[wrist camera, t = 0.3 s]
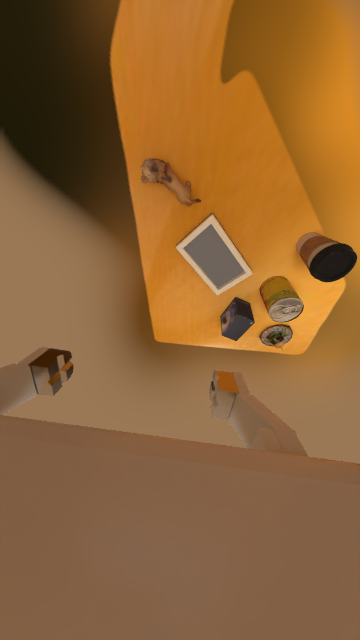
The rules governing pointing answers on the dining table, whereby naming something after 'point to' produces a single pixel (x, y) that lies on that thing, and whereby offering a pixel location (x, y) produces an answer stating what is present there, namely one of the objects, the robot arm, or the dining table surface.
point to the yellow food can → (281, 299)
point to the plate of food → (276, 336)
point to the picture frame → (214, 255)
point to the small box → (236, 319)
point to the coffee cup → (326, 257)
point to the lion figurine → (166, 179)
